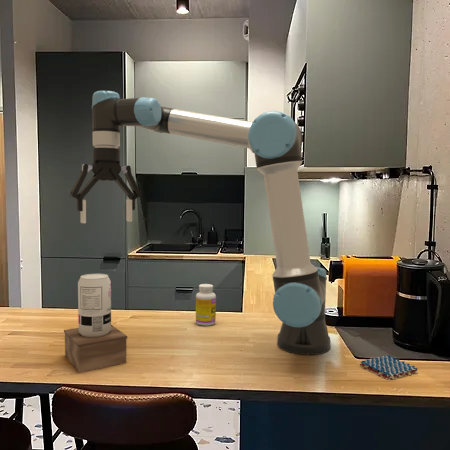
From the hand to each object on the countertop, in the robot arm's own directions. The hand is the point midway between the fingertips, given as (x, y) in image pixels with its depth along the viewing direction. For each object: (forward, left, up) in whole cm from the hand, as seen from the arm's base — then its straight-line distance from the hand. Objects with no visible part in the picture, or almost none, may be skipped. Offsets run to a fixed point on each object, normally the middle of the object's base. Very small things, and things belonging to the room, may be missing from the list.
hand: (106, 222), depth 133 cm
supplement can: (-13, +8, -28) cm, 32 cm away
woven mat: (-58, -52, -35) cm, 86 cm away
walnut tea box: (-13, +8, -35) cm, 38 cm away
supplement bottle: (-1, -33, -35) cm, 48 cm away
